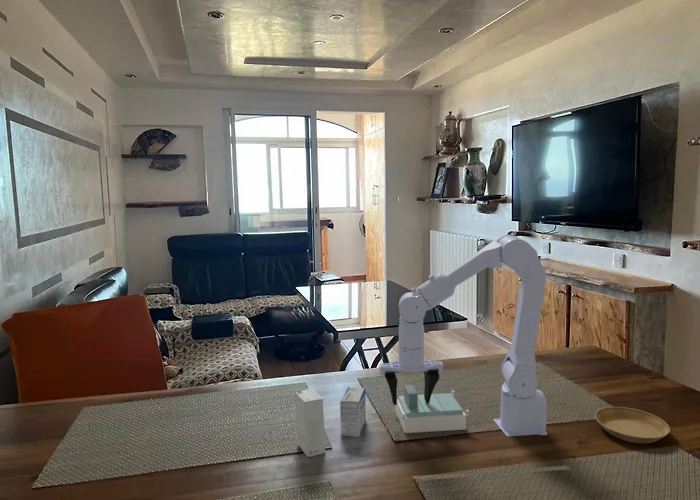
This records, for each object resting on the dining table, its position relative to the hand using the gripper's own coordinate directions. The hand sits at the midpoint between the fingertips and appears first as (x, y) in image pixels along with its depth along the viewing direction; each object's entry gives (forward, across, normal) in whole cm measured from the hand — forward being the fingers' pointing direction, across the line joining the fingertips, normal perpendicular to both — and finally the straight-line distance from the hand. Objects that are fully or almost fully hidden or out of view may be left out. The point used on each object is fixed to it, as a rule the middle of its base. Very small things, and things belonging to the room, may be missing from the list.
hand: (410, 402), depth 116 cm
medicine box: (+6, +14, +1) cm, 15 cm away
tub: (+5, -4, 0) cm, 7 cm away
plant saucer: (+6, -48, +9) cm, 50 cm away
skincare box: (+6, +24, +8) cm, 25 cm away
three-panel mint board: (+1, -4, 0) cm, 5 cm away
